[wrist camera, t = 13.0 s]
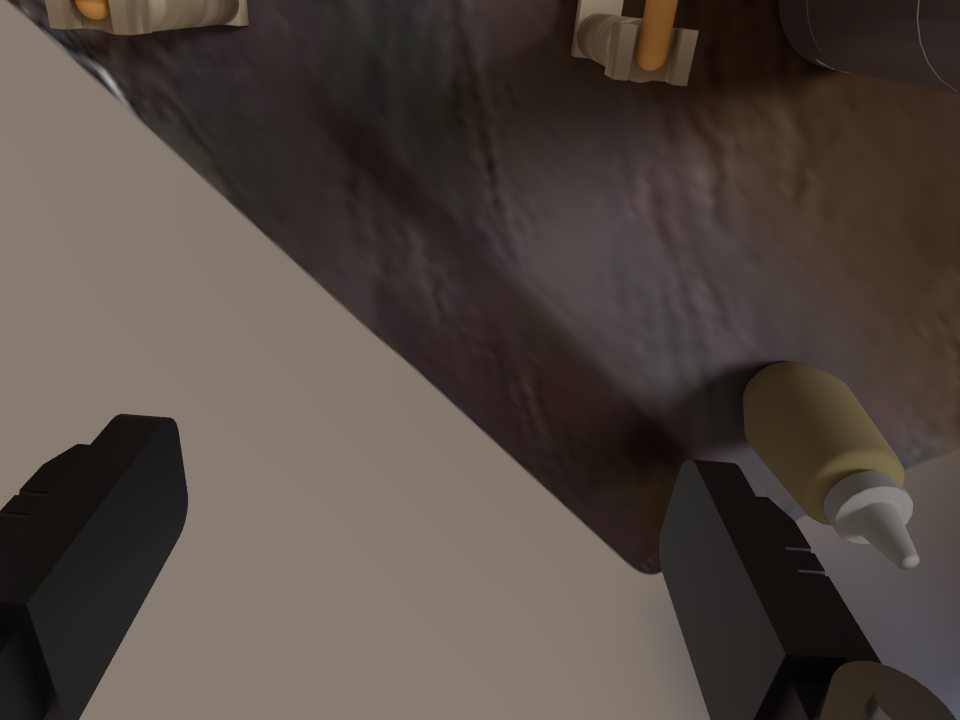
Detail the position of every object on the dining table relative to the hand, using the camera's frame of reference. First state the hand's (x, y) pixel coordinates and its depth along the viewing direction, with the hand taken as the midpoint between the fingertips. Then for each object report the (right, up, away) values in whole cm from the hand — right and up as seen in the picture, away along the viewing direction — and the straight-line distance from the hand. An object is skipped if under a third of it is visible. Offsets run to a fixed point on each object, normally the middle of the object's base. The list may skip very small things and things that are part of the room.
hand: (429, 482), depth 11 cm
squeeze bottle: (+25, -1, +42) cm, 49 cm away
